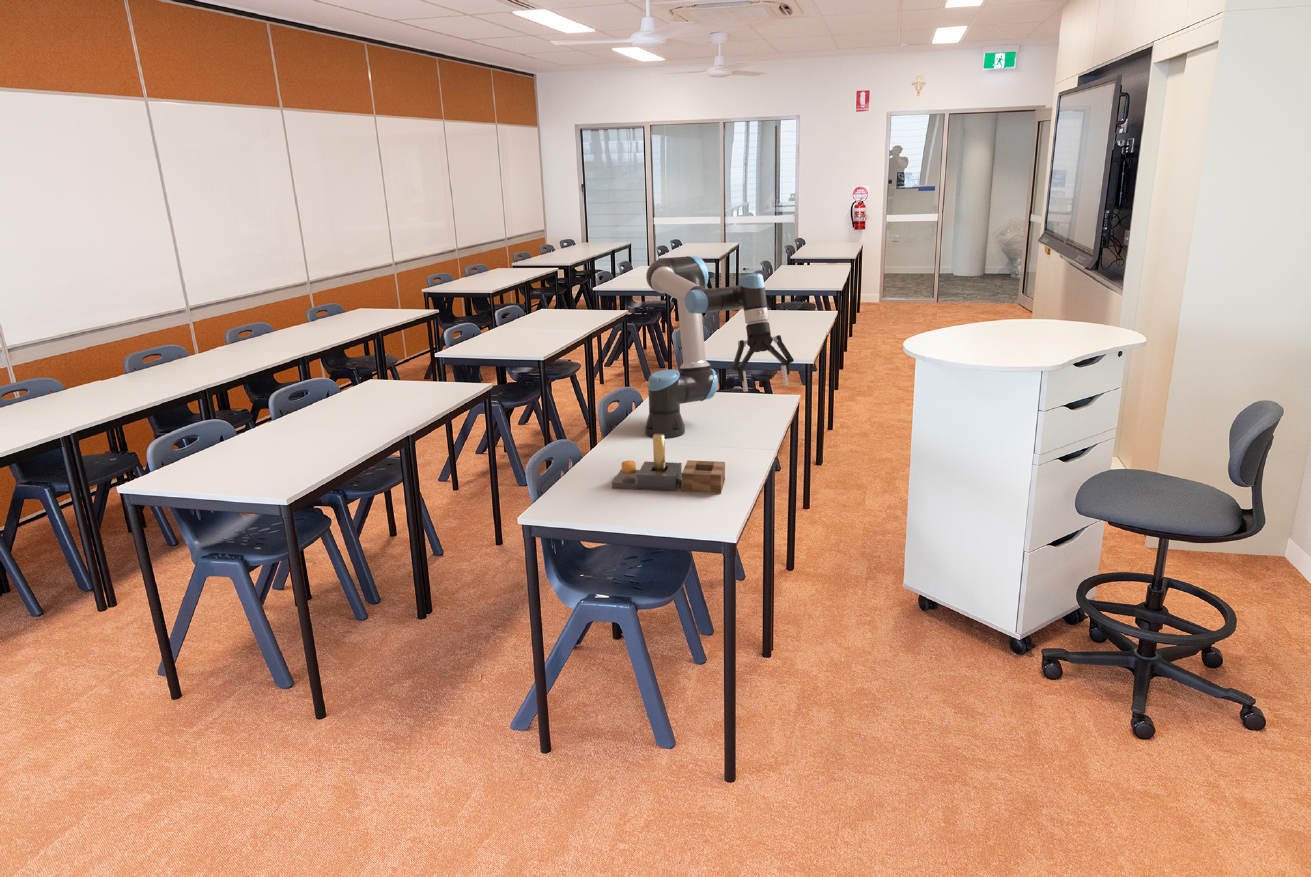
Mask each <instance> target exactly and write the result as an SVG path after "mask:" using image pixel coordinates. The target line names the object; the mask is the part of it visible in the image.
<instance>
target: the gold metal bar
mask: <svg viewBox="0 0 1311 877" xmlns="http://www.w3.org/2000/svg"><path fill="white" fill-rule="evenodd" d="M665 441H666V438H665V435H664V434H654V435H653V437H652V443H653V444H652V448H653V449H652V450H653V462H654V471H661V472H665V462H666V446H665V445H666V442H665Z"/></svg>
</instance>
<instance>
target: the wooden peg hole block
mask: <svg viewBox="0 0 1311 877" xmlns="http://www.w3.org/2000/svg"><path fill="white" fill-rule="evenodd" d="M725 481H726V461H715V460H714V461H713V460H691V459H690V460H687V461H686V463H685V465H684V468H683V469H682V478H681V492H682V493H697V494H698V493H699V494H700V493H703V494H717V495H718V494H722V492H723V487H724V484H725Z"/></svg>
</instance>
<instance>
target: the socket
mask: <svg viewBox="0 0 1311 877" xmlns="http://www.w3.org/2000/svg"><path fill="white" fill-rule="evenodd" d="M682 465H683V464H682V462H666V461H665V472H661V471H654V461H644V462H643V463H642V465H641V467H640V469H636V472H635V473H633V474H623V473H622V468H621V469H620V470H619V471H618V472H617V475H616V476H615V478H614V480H613V481H612V482H611V483H612V489H614V490H616V489H617V490H633V491H634V490H635V491H636V490H637V491H638V490H639V491H640V490H642V491H655V492H659V491H660V492H676V491H677V489H678V487H679V485H680V482H681V481H682V472H683V469H682V468H683V467H682Z"/></svg>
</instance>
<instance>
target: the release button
mask: <svg viewBox="0 0 1311 877" xmlns="http://www.w3.org/2000/svg"><path fill="white" fill-rule="evenodd" d="M636 466H637V465H636V462H635V460H623V461H621V469H622V473H623V474H633V473H635V472H636V470H637V469H636Z"/></svg>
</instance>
